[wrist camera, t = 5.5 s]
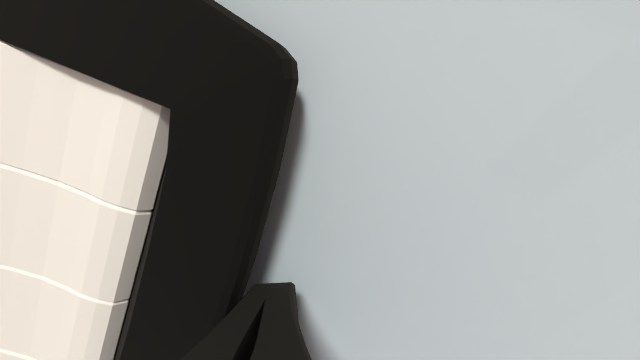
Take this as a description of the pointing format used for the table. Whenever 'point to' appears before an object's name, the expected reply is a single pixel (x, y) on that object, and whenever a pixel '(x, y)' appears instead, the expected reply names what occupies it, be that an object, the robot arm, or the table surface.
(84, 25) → the light switch
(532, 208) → the table surface
